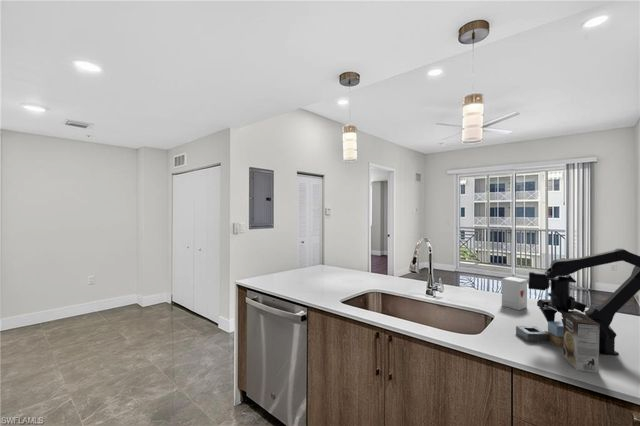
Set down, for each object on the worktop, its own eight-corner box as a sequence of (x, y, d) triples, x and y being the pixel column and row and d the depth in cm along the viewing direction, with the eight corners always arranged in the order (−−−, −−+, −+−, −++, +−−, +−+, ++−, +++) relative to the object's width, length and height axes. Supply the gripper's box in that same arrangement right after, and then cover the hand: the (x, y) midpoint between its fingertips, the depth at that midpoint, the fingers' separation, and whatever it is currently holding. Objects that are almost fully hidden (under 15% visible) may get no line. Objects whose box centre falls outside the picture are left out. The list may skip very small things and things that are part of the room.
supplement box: (519, 310, 156) (519, 281, 156) (501, 306, 163) (501, 278, 163) (527, 307, 161) (527, 279, 161) (509, 303, 168) (509, 276, 168)
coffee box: (562, 357, 107) (562, 312, 107) (584, 359, 106) (584, 313, 105) (575, 370, 99) (576, 321, 98) (599, 373, 97) (600, 323, 97)
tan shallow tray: (575, 347, 115) (575, 338, 115) (556, 346, 116) (556, 338, 115) (562, 339, 122) (562, 331, 122) (544, 338, 123) (544, 330, 122)
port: (548, 342, 119) (548, 334, 119) (527, 342, 120) (527, 333, 120) (535, 334, 127) (535, 326, 127) (516, 333, 128) (516, 325, 128)
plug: (571, 345, 116) (571, 326, 116) (556, 345, 116) (556, 326, 116) (562, 340, 121) (562, 321, 121) (547, 339, 121) (548, 321, 121)
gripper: (602, 299, 109) (602, 342, 109) (564, 286, 127) (564, 323, 127) (569, 299, 109) (569, 342, 110) (536, 286, 128) (536, 322, 128)
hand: (559, 331), depth 119 cm, fingers open, 9 cm apart
